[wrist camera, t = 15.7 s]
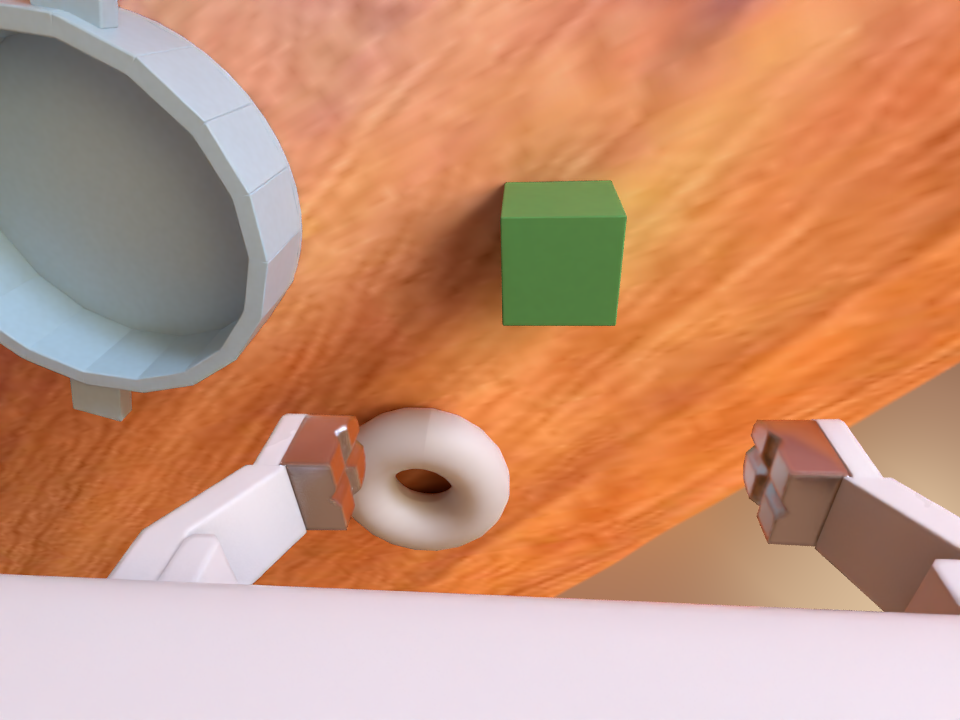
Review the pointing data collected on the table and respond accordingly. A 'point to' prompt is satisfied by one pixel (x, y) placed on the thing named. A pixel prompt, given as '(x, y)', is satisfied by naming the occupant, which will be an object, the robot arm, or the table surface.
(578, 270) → the block
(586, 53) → the table surface
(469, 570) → the table surface
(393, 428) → the donut
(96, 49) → the pan
